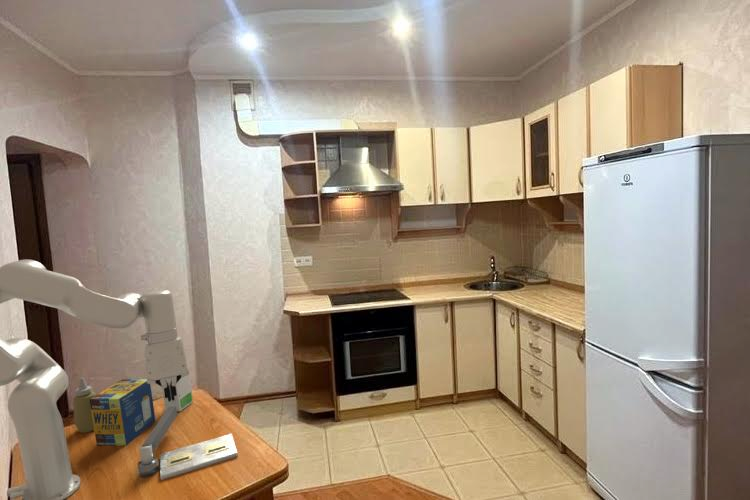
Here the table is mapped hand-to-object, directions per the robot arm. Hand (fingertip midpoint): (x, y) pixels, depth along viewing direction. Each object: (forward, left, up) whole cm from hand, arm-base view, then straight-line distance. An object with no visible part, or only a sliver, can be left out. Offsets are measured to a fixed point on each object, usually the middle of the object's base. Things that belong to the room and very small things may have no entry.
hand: (171, 399), depth 124 cm
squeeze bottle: (-27, +40, -19) cm, 52 cm away
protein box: (-15, +29, -19) cm, 38 cm away
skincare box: (+1, +40, -19) cm, 44 cm away
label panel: (+5, 0, -19) cm, 20 cm away
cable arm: (-5, +11, -16) cm, 20 cm away
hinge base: (-8, 0, -19) cm, 21 cm away
